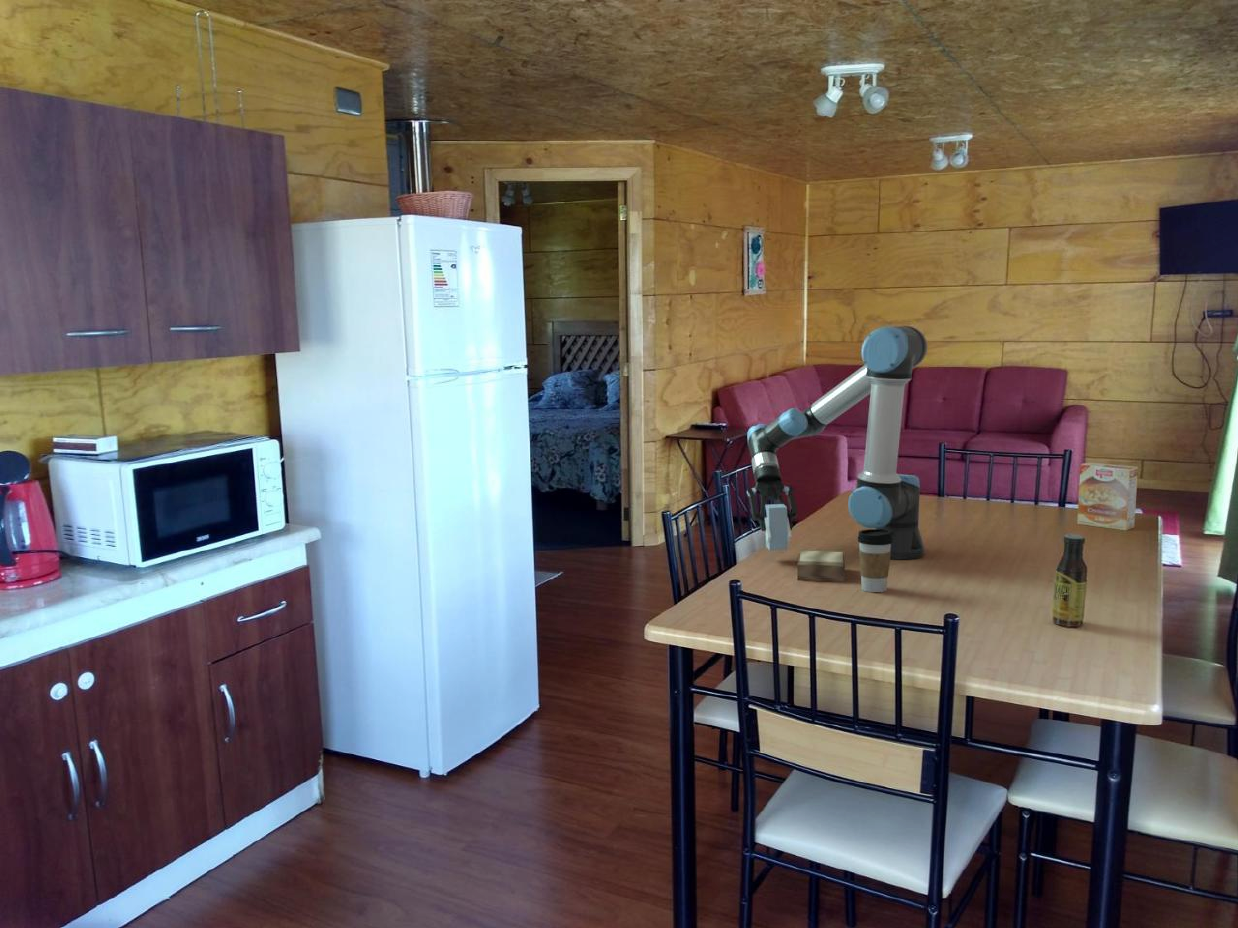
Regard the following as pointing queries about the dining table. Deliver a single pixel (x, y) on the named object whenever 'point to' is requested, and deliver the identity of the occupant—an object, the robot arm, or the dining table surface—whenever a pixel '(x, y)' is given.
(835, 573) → the pedestal
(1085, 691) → the dining table surface
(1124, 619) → the dining table surface
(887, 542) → the coffee cup
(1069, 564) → the sauce bottle
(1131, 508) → the coffeecake box
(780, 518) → the block
